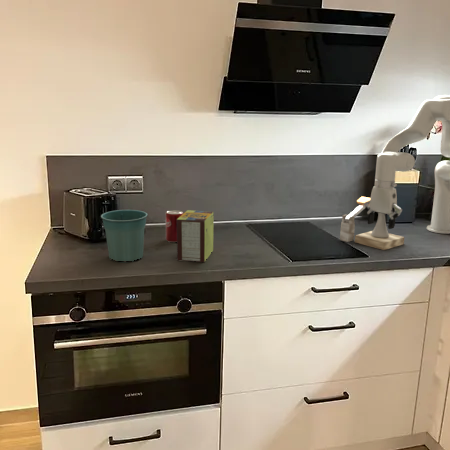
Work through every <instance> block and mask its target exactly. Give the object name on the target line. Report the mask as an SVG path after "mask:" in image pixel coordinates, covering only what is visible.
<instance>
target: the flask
mask: <svg viewBox="0 0 450 450" xmlns="http://www.w3.org/2000/svg"><path fill="white" fill-rule="evenodd" d="M377 214H378V216H377V220H376V223H375V225H374V228H373V230H371V231H372V233H371V235H372V236H373V237H379V238H388V237H389V234H390V233H389V231H388V230H389V229H388V225H387V222H386V214H385V213H380V212H377Z"/></svg>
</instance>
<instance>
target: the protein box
mask: <svg viewBox="0 0 450 450" xmlns="http://www.w3.org/2000/svg"><path fill="white" fill-rule="evenodd" d="M214 216H215V215H214V211H209V210H207V211H206V210H191V209H187V210H186V211H185V212H183V214H182V215H181V216H180V217H179V218H178V219H177V243H176V256H177V259H176V260H177V261H179V260H184V262H194V261H196V262H197V263H205V262H206V261H207V260H208V259H209V258H210V255H211V254H212V253H213V251H214V222H215V221H214ZM211 252H212V253H211ZM206 259H207V260H206Z"/></svg>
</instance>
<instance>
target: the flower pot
mask: <svg viewBox="0 0 450 450" xmlns="http://www.w3.org/2000/svg"><path fill="white" fill-rule="evenodd" d="M100 217H101V219H102V223H103V227H104V229H105V237H106V243H107V250H108V258H109V259H110V258H111V259H113V260H112V261H114V260H116V261H132V262H135V261H136V260H137V259H139V260H141V259H142V258H143V257H144V242H145V230H146V229H145V227H146V225H147V223H146V222H147V217H148V213H147V212H145V211H142V210H137V209H119V210H118V209H117V210H116V209H115V210H111V211H107V212H103V213H102V214H101V215H100ZM140 258H141V259H140ZM111 259H110V260H111ZM134 260H135V261H134Z"/></svg>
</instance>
